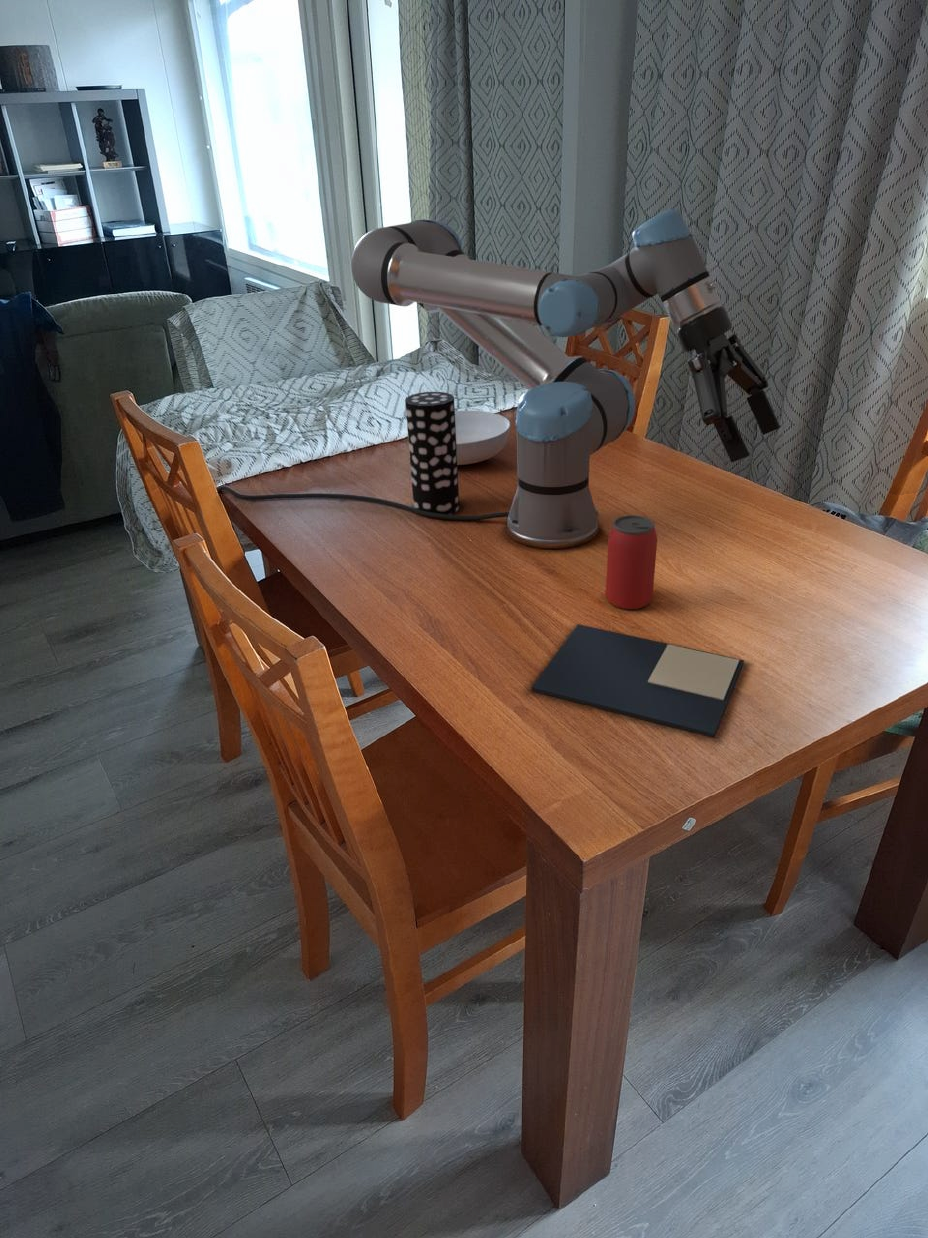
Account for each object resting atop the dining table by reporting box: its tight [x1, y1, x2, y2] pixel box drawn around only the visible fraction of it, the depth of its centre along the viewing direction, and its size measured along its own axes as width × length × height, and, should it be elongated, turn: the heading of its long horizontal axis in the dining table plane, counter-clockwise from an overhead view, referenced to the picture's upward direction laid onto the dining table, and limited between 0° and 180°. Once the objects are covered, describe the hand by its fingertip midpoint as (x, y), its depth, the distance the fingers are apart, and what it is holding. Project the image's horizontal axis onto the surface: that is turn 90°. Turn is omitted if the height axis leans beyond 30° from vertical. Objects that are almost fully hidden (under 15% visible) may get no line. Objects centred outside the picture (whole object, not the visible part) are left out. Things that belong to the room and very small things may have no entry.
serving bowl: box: [455, 410, 511, 466], centre depth 170 cm, size 21×21×7 cm
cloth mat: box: [530, 624, 745, 739], centre depth 102 cm, size 22×16×1 cm
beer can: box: [605, 514, 658, 610], centre depth 115 cm, size 7×7×12 cm
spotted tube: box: [404, 391, 460, 517], centre depth 145 cm, size 8×8×20 cm
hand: (756, 444), depth 127 cm, fingers open, 13 cm apart
